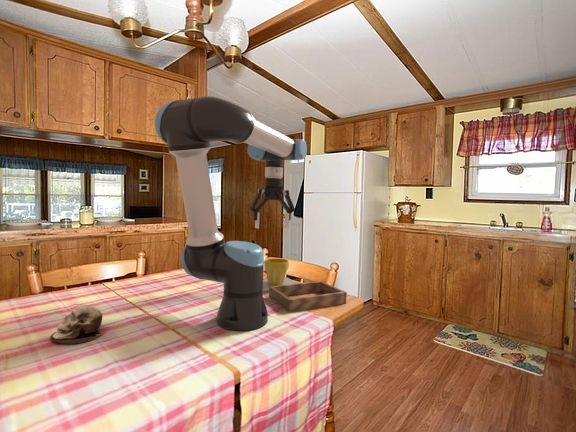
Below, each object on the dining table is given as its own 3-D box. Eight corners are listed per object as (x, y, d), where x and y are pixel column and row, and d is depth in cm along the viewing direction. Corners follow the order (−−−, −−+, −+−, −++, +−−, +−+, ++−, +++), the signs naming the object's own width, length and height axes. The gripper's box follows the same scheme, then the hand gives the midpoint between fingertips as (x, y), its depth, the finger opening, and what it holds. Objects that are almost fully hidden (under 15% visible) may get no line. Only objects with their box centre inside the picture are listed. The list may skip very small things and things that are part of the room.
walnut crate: (289, 312, 102) (289, 300, 102) (268, 297, 116) (269, 286, 116) (346, 303, 113) (346, 292, 112) (321, 290, 127) (321, 280, 127)
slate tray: (262, 293, 121) (262, 290, 121) (249, 283, 134) (249, 280, 134) (302, 288, 129) (302, 285, 129) (286, 279, 142) (286, 276, 142)
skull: (53, 348, 71) (48, 307, 76) (51, 363, 78) (47, 325, 82) (111, 333, 79) (104, 297, 84) (106, 347, 86) (99, 313, 90)
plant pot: (289, 280, 136) (290, 258, 136) (286, 287, 126) (287, 263, 125) (266, 279, 137) (266, 257, 137) (261, 285, 127) (262, 261, 127)
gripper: (248, 175, 122) (246, 229, 124) (303, 179, 133) (302, 228, 134) (242, 176, 129) (241, 227, 130) (295, 180, 140) (294, 227, 141)
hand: (272, 228), depth 132 cm, fingers open, 13 cm apart
